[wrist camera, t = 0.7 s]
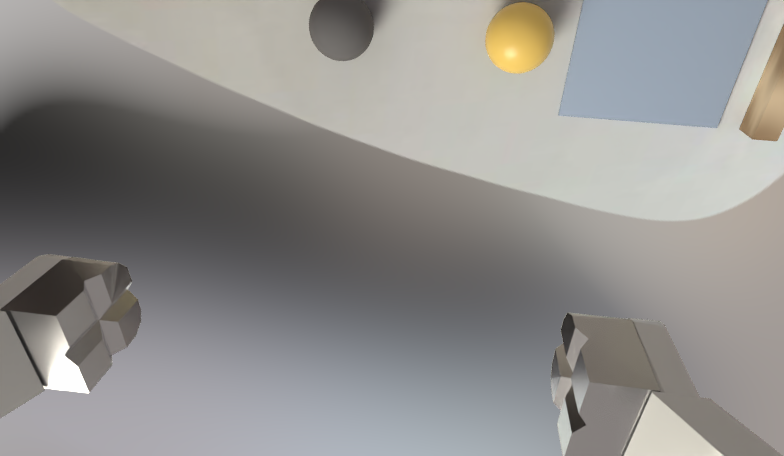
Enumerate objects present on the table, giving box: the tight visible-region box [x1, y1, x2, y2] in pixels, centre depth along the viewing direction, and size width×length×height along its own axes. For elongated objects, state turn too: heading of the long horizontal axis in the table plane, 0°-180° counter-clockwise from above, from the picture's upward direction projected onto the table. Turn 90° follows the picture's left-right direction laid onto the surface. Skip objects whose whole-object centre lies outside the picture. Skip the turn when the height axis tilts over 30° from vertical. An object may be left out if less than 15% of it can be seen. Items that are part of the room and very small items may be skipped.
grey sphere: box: [309, 0, 374, 61], centre depth 43 cm, size 6×6×6 cm
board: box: [558, 0, 768, 128], centre depth 42 cm, size 14×14×1 cm
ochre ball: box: [485, 2, 554, 73], centre depth 41 cm, size 6×6×6 cm
